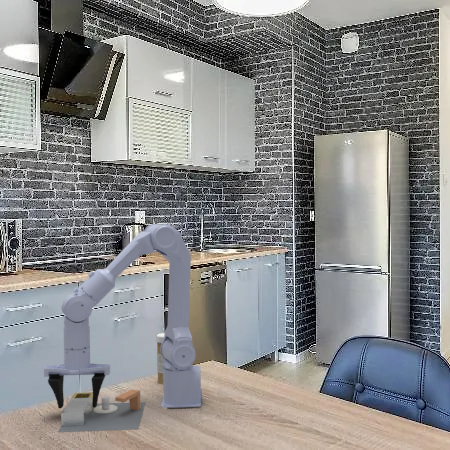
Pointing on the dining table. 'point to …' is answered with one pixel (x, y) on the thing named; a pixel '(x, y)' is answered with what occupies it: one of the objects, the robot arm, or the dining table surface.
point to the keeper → (130, 398)
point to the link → (77, 410)
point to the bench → (110, 418)
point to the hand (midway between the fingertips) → (78, 406)
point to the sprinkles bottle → (160, 358)
